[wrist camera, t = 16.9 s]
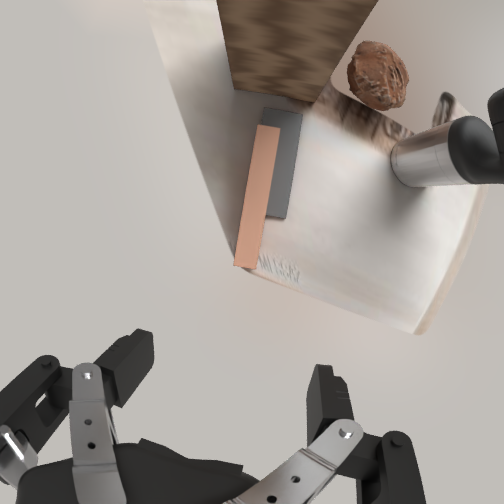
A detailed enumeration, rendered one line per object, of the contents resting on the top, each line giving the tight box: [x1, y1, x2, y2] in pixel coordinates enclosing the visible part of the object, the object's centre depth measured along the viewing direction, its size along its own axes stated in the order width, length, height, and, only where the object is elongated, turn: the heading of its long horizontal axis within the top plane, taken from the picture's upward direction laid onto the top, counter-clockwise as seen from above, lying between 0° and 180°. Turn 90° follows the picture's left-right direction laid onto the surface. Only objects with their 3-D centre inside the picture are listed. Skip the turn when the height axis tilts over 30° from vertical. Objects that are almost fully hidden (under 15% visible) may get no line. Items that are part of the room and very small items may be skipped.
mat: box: [261, 107, 303, 218], centre depth 44 cm, size 6×18×1 cm, turn 170°
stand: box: [216, 0, 378, 103], centre depth 25 cm, size 15×15×32 cm
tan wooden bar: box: [234, 124, 280, 269], centre depth 43 cm, size 4×22×4 cm, turn 170°
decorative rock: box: [347, 41, 409, 111], centre depth 36 cm, size 13×11×10 cm
